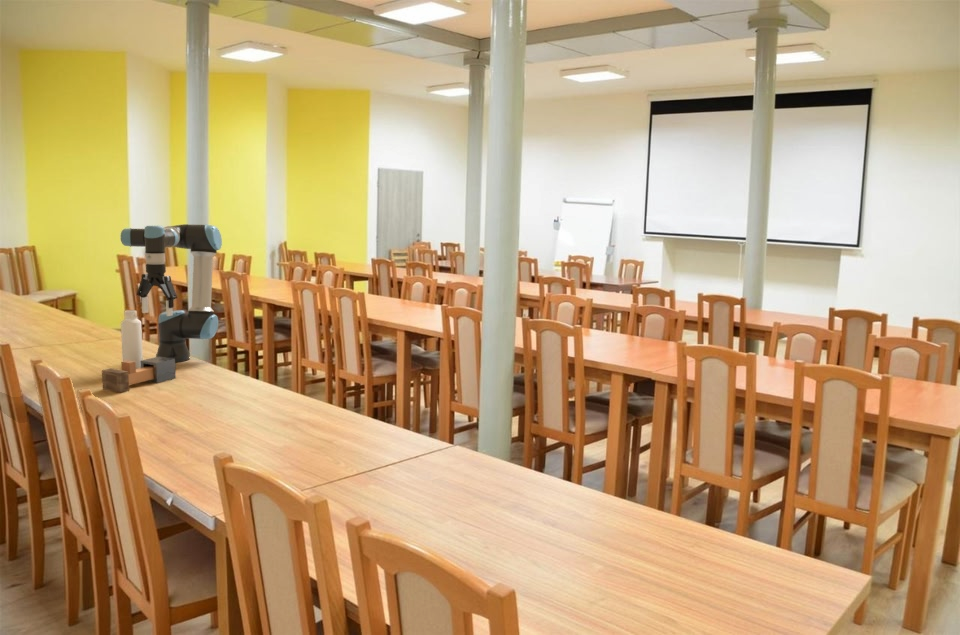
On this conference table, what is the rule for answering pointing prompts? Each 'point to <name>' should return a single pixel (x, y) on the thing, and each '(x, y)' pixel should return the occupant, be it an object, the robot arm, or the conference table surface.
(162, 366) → the sleeve
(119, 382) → the brown rectangular block
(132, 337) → the bottle
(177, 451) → the conference table surface
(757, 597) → the conference table surface
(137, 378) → the inner bar
